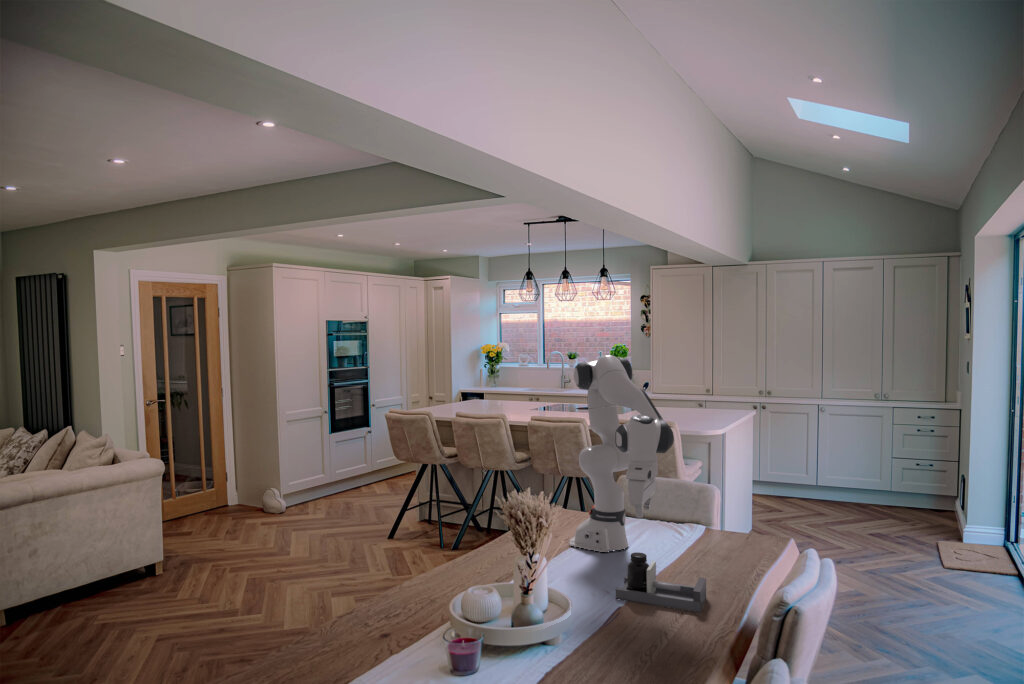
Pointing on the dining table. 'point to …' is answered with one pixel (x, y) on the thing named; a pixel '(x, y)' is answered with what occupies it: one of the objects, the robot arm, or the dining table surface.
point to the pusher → (653, 584)
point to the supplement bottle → (637, 572)
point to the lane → (668, 596)
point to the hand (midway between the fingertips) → (643, 513)
